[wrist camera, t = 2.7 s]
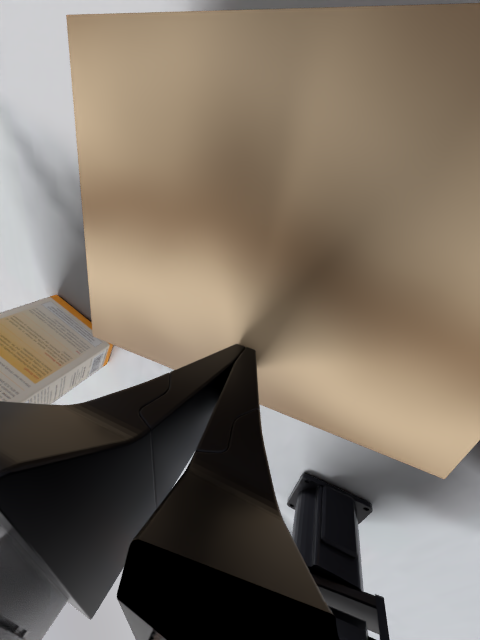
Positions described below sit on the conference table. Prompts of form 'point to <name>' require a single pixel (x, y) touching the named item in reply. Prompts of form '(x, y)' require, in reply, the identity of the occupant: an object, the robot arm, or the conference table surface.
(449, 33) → the lid
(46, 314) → the supplement box
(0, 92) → the conference table surface
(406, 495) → the conference table surface
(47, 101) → the conference table surface
